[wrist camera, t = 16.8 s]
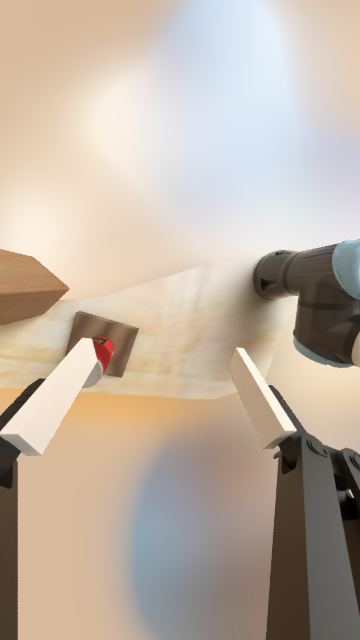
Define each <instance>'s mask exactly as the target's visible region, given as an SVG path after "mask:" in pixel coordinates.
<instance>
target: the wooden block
mask: <svg viewBox="0 0 360 640" xmlns="http://www.w3.org/2000/svg"><path fill="white" fill-rule="evenodd" d="M68 290H69V288H68V287H67V286H66V285H65V284H64V283H63V282H62V281H60V280H59V279H58V278H57V277H56V276H55V275H54V274H52V273H51V272H50V271H49V270H48V269H47V268H45V267H44V266H43V265H42V264H41V263H40V262H38V261H37V260H36V259H35V258H34V257H31V256H27V255H23V254H18V253H14V252H10V251H5V250H1V249H0V325H4V324H7V323H11V322H15V321H19V320H22V319H26V318H30V317H33V316H37V315H41V314H44V313H45V312H46V311H47V310H48V309H49V308H50V307H51V306H52V305H53V304H54V303H55V302H56V301H58V300H59V299H60V298H61V297H62V296H63V295H64V294H65V293H66V292H67V291H68Z"/></svg>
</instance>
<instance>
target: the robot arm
mask: <svg viewBox="0 0 360 640" xmlns="http://www.w3.org/2000/svg"><path fill="white" fill-rule="evenodd" d="M254 284H255V288H256V290H257V292H258V293H259V294H260V295H261V296H262V297H264V298H267V299H280V298H285V297H289V296H293V295H294V296H299V297H298V305H297V313H296V322H295V329H294V330H293V336H294V341H293V342H294V346H295V348H296V349H297V350H298V351H299V352H300V353H301V354H302V355H304V356H305V357H307V358H309V359H311V360H313V361H315V362H318V363H321V364H324V365H327V364H329V365H331V366H332V367H338V368H347V367H351V366H353V365H354V366H357V367H360V239H357V240H347V241H343V242H342V243H339V244H334V245H330V246H325V247H321V248H316V249H312V250H306V251H302V252H296V251H288V250H279V251H275V252H272V253H269V254H267V255H266V256H265V257H264V258H263V259H262V260H261V261H260V262H259V264H258V266H257V268H256V271H255V275H254ZM96 362H97V357H96V353H95V349H94V345H93V342H92V338H82V339H81V340H80V341H79V342H78V343H77V344H76V345H75V347H74V348H73V349H72V350H71V351H70V352H69V353H68V355H67V356H66V357H65V358H64V359H63V360H62V361H61V363H60V364H59V365H58V366H57V367H56V368H55V369H54V371H53V372H52V373H51V374H50V375H49V376H48V377H47V379H38V380H36V381H35V382H33V383H32V384H31V385H29V386H28V387H27V388H26V389H25V390H24V391H23V392H22V393H21V395H20V396H19V397H18V398H17V399H16V400H15V401H14V403H13V404H11V405H10V406H9V407H8V408H7V409H6V410H5V411H4V412H3V413H2V415H1V416H0V640H18V626H17V625H18V593H17V592H18V589H17V588H18V584H17V583H18V570H17V569H18V565H17V564H18V562H17V561H18V558H17V557H18V555H17V554H18V550H17V549H18V547H17V546H18V540H17V539H18V521H17V520H18V518H17V517H18V516H17V515H18V508H17V507H18V504H17V503H18V499H17V498H18V494H17V493H18V491H17V489H18V488H17V487H18V486H17V485H18V476H17V475H18V470H17V468H18V465H17V464H18V462H17V460H16V459H17V457H18V456H19V454H20V453H21V452H22V453H23V454H25V455H27V456H31V455H42V454H43V452H44V451H45V449H46V447H47V446H48V444H49V442H50V441H51V439H52V437H53V435H54V434H55V432H56V430H57V429H58V427H59V425H60V424H61V422H62V420H63V418H64V416H65V415H66V413H67V412H68V410H69V408H70V407H71V405H72V403H73V401H74V400H75V398H76V396H77V395H78V393H79V391H80V390H81V388H82V386H83V385H84V383H85V381H86V379H87V378H88V376H89V374H90V373H91V371H92V369H93V368H94V366H95V364H96ZM228 369H229V372H230V374H231V376H232V379H233V381H234V383H235V386H236V388H237V390H238V393H239V395H240V397H241V400H242V401H243V404H244V406H245V408H246V411H247V413H248V416H249V418H250V420H251V423H252V425H253V427H254V430H255V432H256V434H257V437H258V439H259V441H260V444H261V446H262V448H263V449H274V448H275V447H276V446H279V447H280V451H279V452H277V453H276V454H274V457H273V458H274V459H276V458H277V457H279V460H278V475H277V490H276V504H275V518H274V532H273V546H272V560H271V576H270V590H269V603H268V618H267V632H266V640H360V454H358V453H357V452H355V451H354V450H352V449H349V448H344V449H342V450H340V451H339V450H336V449H333V448H331V447H328V446H326V445H323V444H322V443H321V442H320V441H319V440H318V439H317V438H315V437H314V436H312V435H310V434H308V433H307V432H306V431H305V429H304V428H303V426H302V425H301V423H300V422H299V420H298V419H297V418H296V416H295V415H294V413H293V412H292V410H291V409H290V408H289V406H288V405H287V403H286V402H285V400H283V397H282V396H281V395H280V393H279V392H278V391H277V390H276V389H275V388H274V387H273V386H272V385H267V383H266V382H265V380H264V379H263V377H262V376H261V374H260V373H259V371H258V369H257V368H256V366H255V365H254V363H253V362H252V360H251V359H250V357H249V356H248V354H247V353H246V351H245V349H244V348H236V349H235V351H234V354H233V356H232V358H231V360H230V362H229V364H228ZM349 489H351V492H352V494H353V496H354V498H353V497H352V496H351V494H350V493H349Z"/></svg>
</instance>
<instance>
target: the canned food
mask: <svg viewBox="0 0 360 640" xmlns="http://www.w3.org/2000/svg"><path fill="white" fill-rule="evenodd" d="M92 342H93V345H94V349H95V353H96V357H97V362H96V364H95V366H94V368H93V369H92V371H91V373H90V374H89V376H88V378H87V379H86V381H85V383H84V385H83V386H82V388H87V387H91V386H93V385H95V384H96V383H97V382H98V381H99V380H100V378H101V377H102V375H103V374H104V372H105V370H106V368H107V366H108V364H109V362H110V361H111V359H112V357H113V355H114V345H113V343H112V342H111V341H110V340H109V339H108V338H106V337H102V336H97V337H93V338H92Z"/></svg>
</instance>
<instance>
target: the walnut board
mask: <svg viewBox="0 0 360 640" xmlns="http://www.w3.org/2000/svg"><path fill="white" fill-rule="evenodd" d="M138 329H139V328H135V327H132V326H129V325H125V324H122V323H119V322H115V321H112V320H108V319H105V318H102V317H98V316H95V315H91V314H88V313H85V312H81V311H79V312H77V313H76V316H75V320H74V324H73V328H72V332H71V336H70V340H69V344H68V348H67V351H66V355H65V357H66V356H67V355H68V353H69V352H70V351H71V350H72V349H73V348H74V347H75V345H76V344H77V343H78V342H79V341H80V340H81V339H82V338H93V337H97V336H102V337H106V338H108V339H109V340H110V341H111V342H112V343H113V345H114V355H113V357H112V359H111V361H110V362H109V364H108V366H107V368H106V370H105V372H104V374H106V375H111V376H116V377H121V378H122V376H123V373H124V370H125V367H126V364H127V362H128V359H129V356H130V353H131V350H132V347H133V344H134V341H135V338H136V335H137V332H138Z"/></svg>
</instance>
